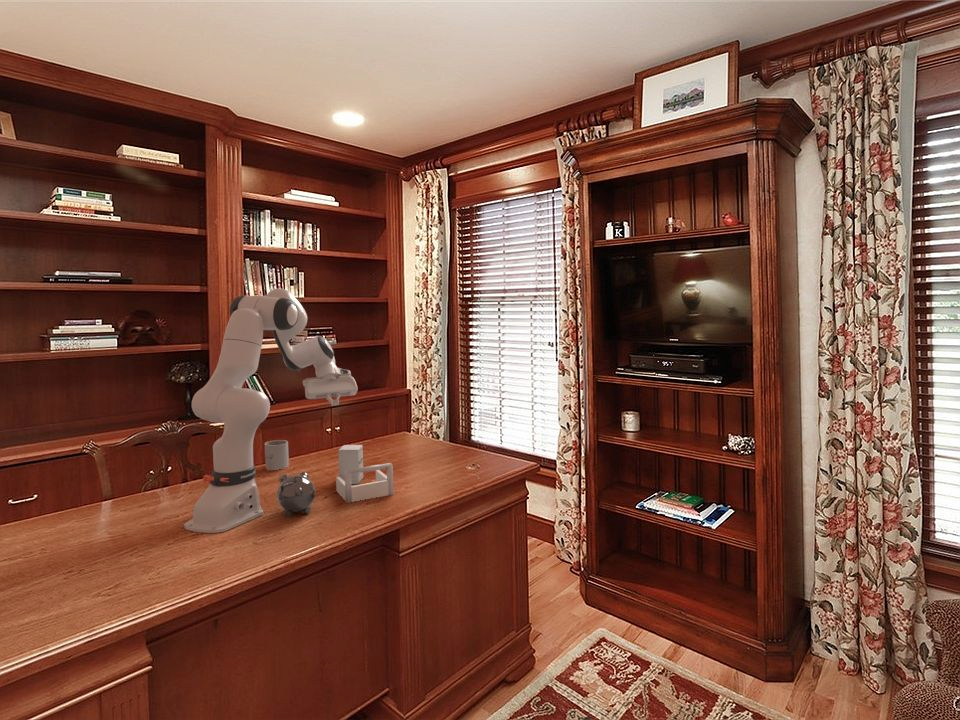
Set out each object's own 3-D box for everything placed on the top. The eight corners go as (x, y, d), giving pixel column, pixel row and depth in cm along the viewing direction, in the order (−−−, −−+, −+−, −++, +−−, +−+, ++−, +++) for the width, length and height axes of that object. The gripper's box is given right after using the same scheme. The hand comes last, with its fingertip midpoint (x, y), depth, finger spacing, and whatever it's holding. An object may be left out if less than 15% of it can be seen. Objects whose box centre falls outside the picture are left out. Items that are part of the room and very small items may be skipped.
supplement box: (359, 484, 190) (358, 449, 189) (338, 484, 190) (337, 449, 189) (364, 477, 197) (363, 444, 196) (344, 477, 197) (343, 444, 196)
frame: (394, 494, 179) (393, 463, 178) (346, 503, 171) (345, 471, 170) (380, 483, 191) (379, 453, 190) (335, 491, 183) (334, 460, 182)
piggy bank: (311, 501, 174) (310, 466, 172) (319, 517, 160) (318, 480, 159) (275, 506, 169) (273, 471, 168) (280, 523, 155) (278, 485, 154)
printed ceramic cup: (291, 468, 209) (290, 443, 208) (268, 472, 205) (267, 446, 204) (283, 460, 219) (282, 437, 218) (261, 464, 215) (260, 440, 214)
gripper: (302, 373, 207) (309, 402, 200) (354, 370, 218) (362, 397, 210) (300, 383, 212) (307, 411, 204) (351, 379, 222) (358, 406, 215)
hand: (335, 404), depth 207 cm, fingers closed
